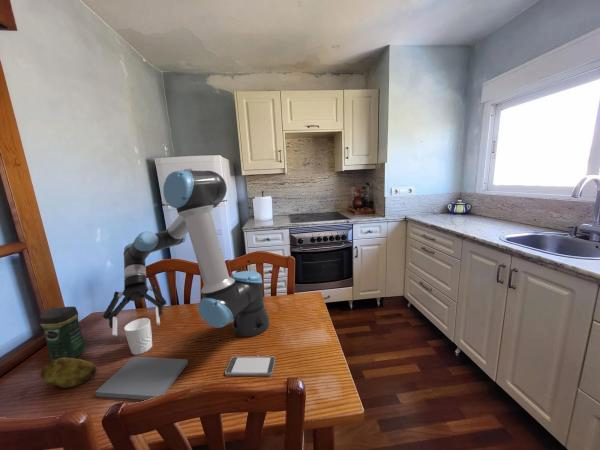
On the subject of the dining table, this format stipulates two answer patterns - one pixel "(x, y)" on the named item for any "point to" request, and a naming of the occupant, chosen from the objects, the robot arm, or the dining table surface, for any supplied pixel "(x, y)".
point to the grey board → (143, 378)
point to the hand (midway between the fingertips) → (137, 329)
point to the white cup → (139, 335)
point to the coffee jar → (62, 332)
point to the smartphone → (250, 366)
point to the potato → (67, 372)
